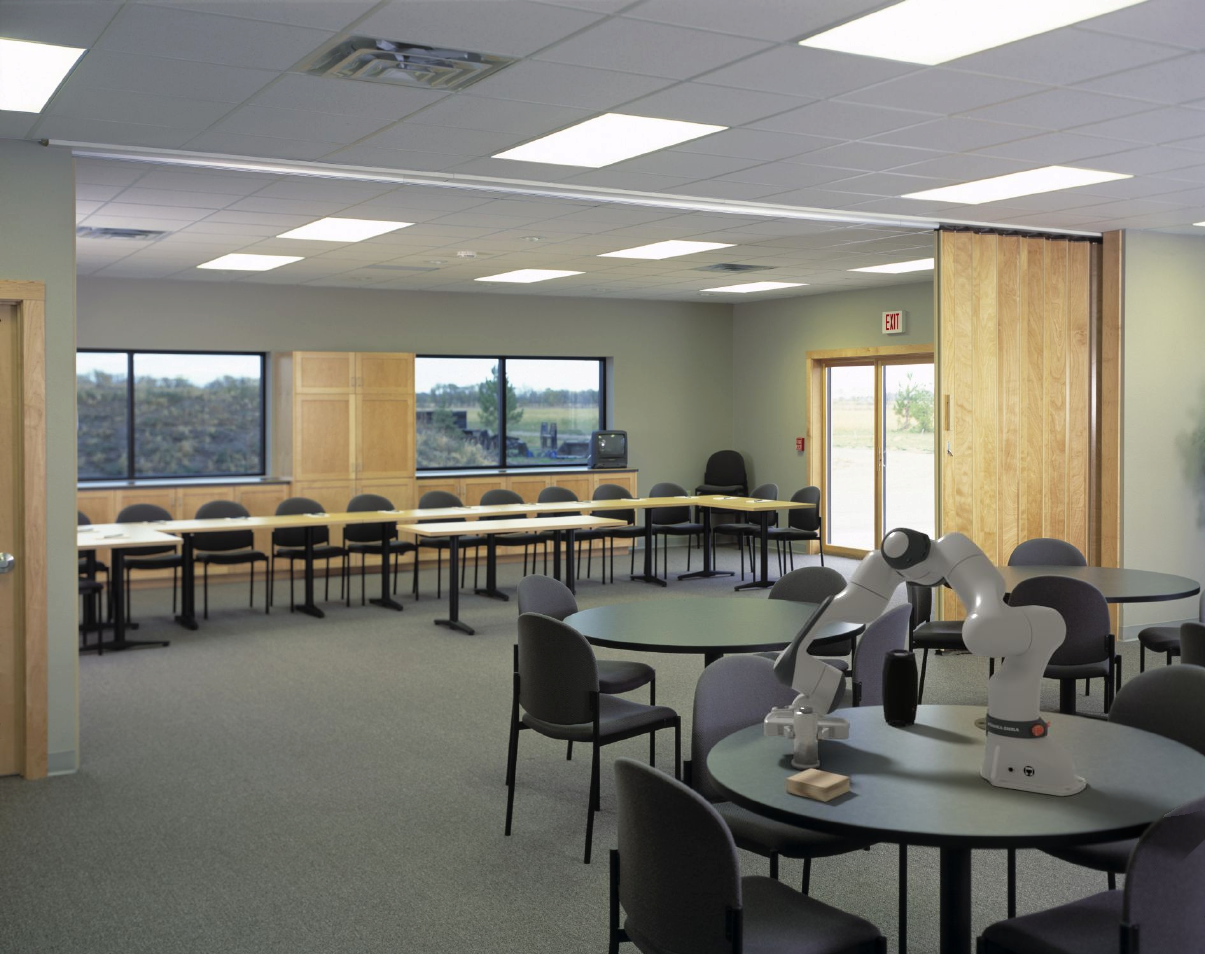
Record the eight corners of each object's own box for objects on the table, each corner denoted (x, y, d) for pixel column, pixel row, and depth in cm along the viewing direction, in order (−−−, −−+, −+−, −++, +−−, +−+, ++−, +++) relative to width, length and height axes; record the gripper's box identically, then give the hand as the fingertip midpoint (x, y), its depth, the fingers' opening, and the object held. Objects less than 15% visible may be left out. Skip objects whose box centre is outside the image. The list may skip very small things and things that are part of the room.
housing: (825, 766, 272) (825, 707, 271) (810, 772, 267) (810, 712, 266) (801, 760, 276) (801, 703, 276) (786, 766, 271) (786, 708, 271)
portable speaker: (923, 726, 307) (924, 653, 306) (891, 728, 305) (892, 655, 304) (907, 718, 315) (907, 647, 314) (876, 720, 313) (876, 649, 312)
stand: (849, 790, 253) (849, 777, 253) (825, 801, 246) (825, 787, 246) (810, 781, 260) (810, 768, 260) (786, 791, 253) (786, 778, 253)
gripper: (849, 735, 282) (850, 751, 268) (765, 731, 286) (762, 747, 272) (849, 710, 282) (850, 724, 268) (765, 706, 286) (762, 720, 272)
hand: (805, 735), depth 270 cm, fingers closed on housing, 6 cm apart
